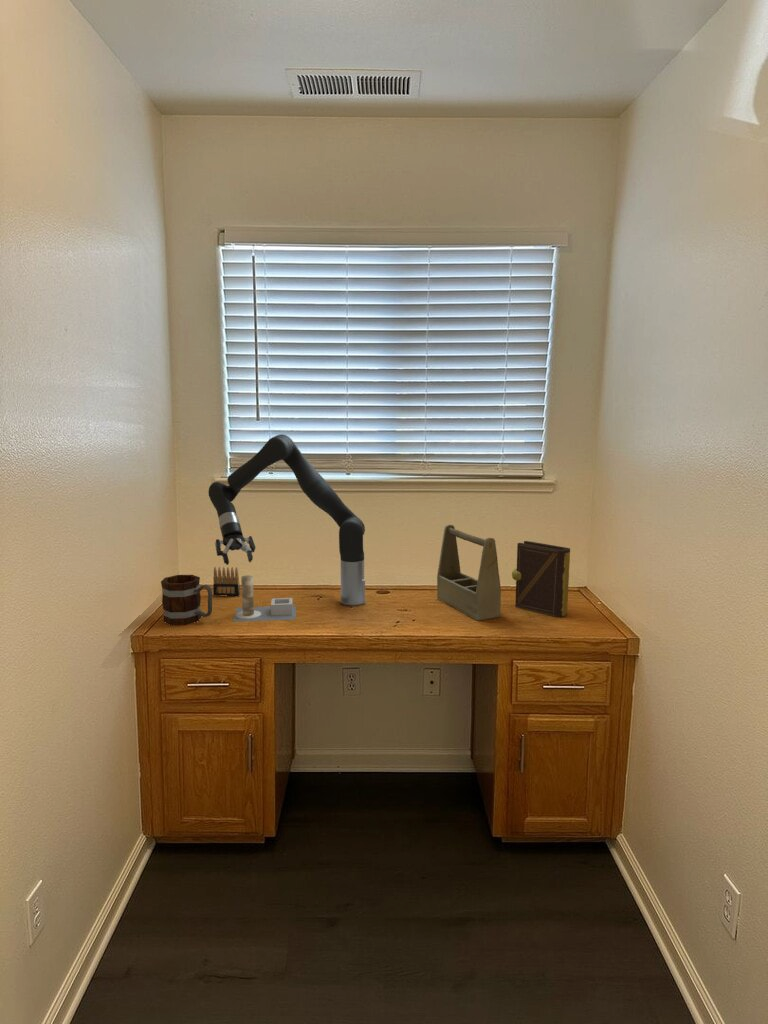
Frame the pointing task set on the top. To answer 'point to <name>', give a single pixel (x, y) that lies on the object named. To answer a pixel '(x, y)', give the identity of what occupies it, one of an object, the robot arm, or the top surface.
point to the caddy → (469, 578)
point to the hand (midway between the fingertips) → (239, 562)
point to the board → (270, 611)
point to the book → (542, 578)
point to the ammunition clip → (226, 582)
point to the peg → (247, 595)
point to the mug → (183, 599)
